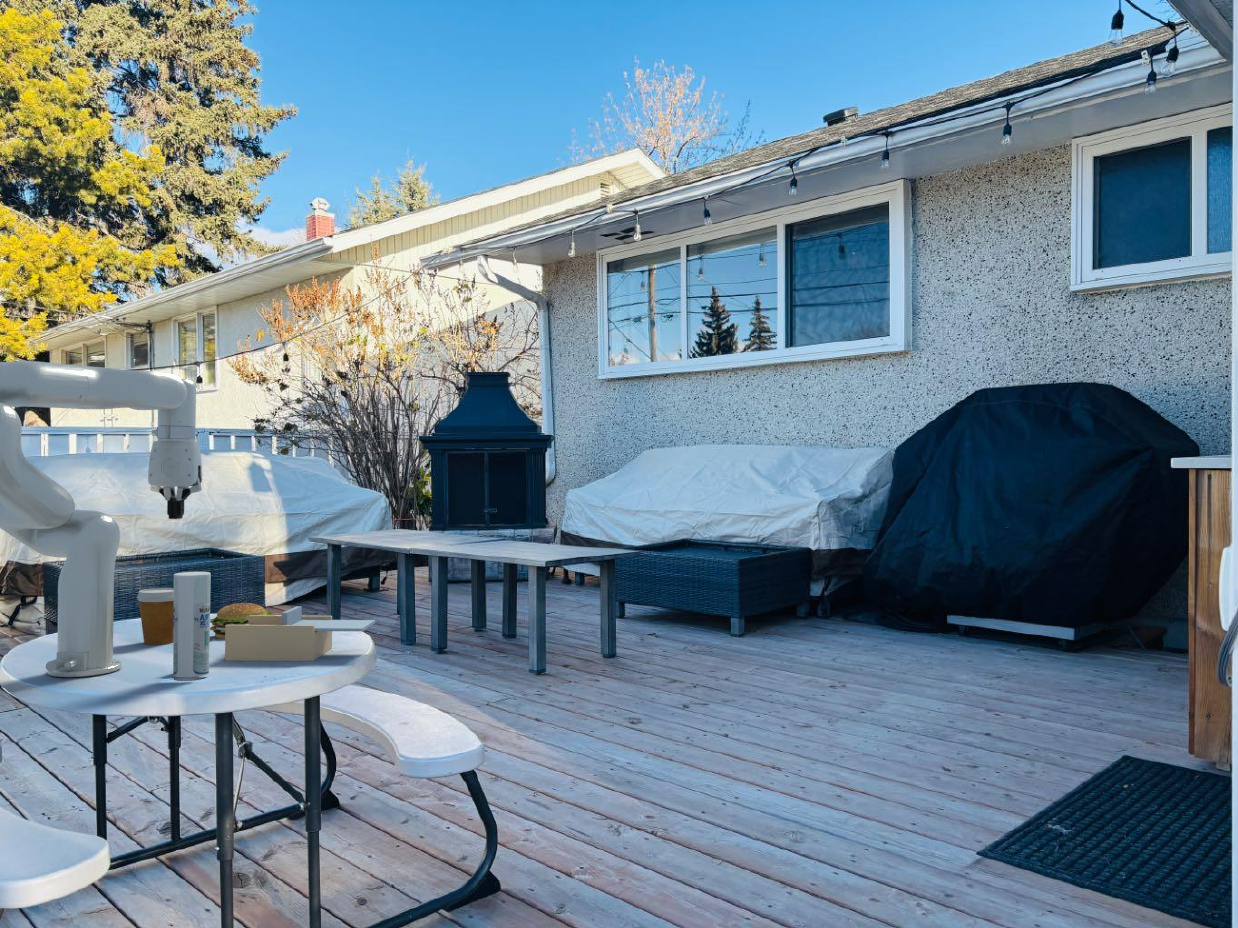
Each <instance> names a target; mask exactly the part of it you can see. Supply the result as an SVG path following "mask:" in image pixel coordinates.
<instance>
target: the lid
mask: <svg viewBox="0 0 1238 928" xmlns="http://www.w3.org/2000/svg"><path fill="white" fill-rule="evenodd" d="M302 608H303V607H302V606H297V605H296V606H293V607H292V608H290V609H289V608H288V609H287V610H284V611H283V612H281V615H282V617H281V625H315V631H332V632H364V631H365V630H367V629H368V628H370V627H371V626H373V625H374V624H376V620H375V619H365V620H364V619H332V620H302V616H303V615H302V614H303V611H302Z"/></svg>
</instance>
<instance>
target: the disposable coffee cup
mask: <svg viewBox="0 0 1238 928" xmlns="http://www.w3.org/2000/svg"><path fill="white" fill-rule="evenodd" d="M136 599H137V601H138V606H139V612H140V613H139V614H140V621H141V628H142V629H141V630H142V636H143V644H144V645H149V646H159V645H167V644H173V612H174V587H155V588H153V587H152V588H146V589H139V591H138V594H137V596H136Z"/></svg>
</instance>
